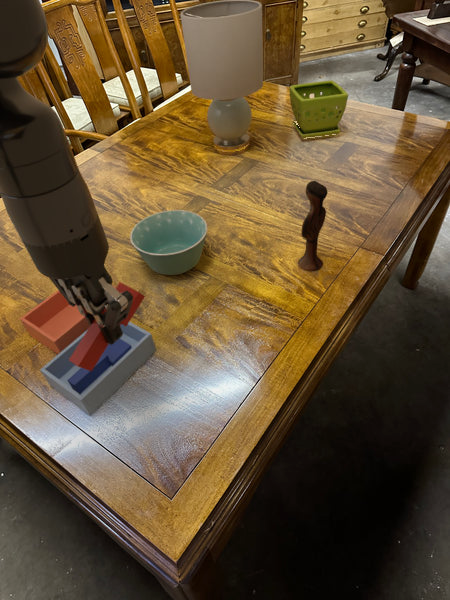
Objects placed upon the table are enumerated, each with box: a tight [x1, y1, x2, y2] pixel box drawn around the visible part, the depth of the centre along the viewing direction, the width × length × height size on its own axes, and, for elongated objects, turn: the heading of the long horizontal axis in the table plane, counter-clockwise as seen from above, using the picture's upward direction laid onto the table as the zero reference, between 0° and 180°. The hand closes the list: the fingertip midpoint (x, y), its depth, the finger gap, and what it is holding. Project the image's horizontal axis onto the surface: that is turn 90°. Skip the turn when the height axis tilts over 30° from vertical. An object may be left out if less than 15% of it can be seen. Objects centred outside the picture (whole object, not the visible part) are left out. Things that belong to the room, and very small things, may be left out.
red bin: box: [19, 284, 117, 355], centre depth 78 cm, size 15×10×4 cm
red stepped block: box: [69, 281, 146, 371], centre depth 51 cm, size 11×4×3 cm, turn 144°
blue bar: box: [68, 338, 132, 394], centre depth 70 cm, size 11×4×3 cm, turn 144°
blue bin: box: [39, 321, 157, 417], centre depth 70 cm, size 15×10×4 cm
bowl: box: [129, 209, 208, 276], centre depth 87 cm, size 16×16×8 cm
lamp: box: [180, 0, 264, 156], centre depth 115 cm, size 20×20×35 cm
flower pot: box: [288, 80, 349, 141], centre depth 125 cm, size 14×14×13 cm
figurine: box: [297, 180, 329, 272], centre depth 80 cm, size 7×5×18 cm
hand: (108, 335), depth 52 cm, fingers closed on red stepped block, 2 cm apart
